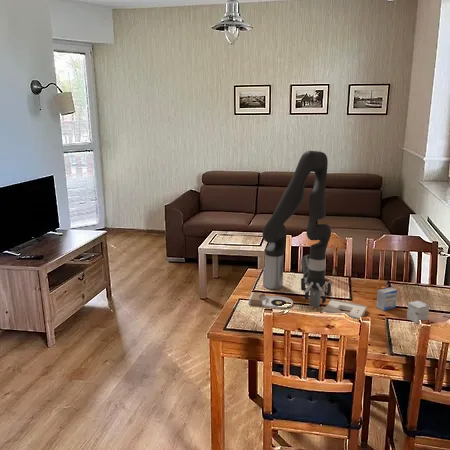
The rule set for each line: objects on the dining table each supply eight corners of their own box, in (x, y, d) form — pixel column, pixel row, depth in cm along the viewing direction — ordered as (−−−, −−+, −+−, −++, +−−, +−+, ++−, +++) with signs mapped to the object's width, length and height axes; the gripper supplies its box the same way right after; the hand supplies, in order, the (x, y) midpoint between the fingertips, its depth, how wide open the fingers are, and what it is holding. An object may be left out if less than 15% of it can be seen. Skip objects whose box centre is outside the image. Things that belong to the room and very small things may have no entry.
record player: (252, 290, 218) (294, 294, 213) (252, 296, 218) (293, 300, 214) (248, 300, 206) (292, 304, 202) (248, 306, 207) (291, 311, 203)
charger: (309, 306, 207) (309, 290, 205) (312, 303, 210) (312, 287, 208) (317, 308, 205) (318, 291, 203) (320, 304, 208) (321, 288, 206)
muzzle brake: (317, 271, 251) (318, 254, 248) (322, 291, 224) (324, 271, 221) (300, 271, 252) (300, 253, 249) (303, 290, 225) (304, 271, 222)
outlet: (321, 314, 198) (322, 310, 197) (331, 303, 210) (331, 298, 209) (358, 323, 190) (359, 318, 190) (366, 310, 202) (366, 306, 202)
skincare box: (406, 318, 195) (408, 302, 193) (416, 315, 198) (418, 300, 196) (417, 323, 190) (419, 307, 188) (427, 321, 192) (429, 305, 190)
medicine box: (383, 311, 202) (385, 293, 200) (375, 307, 206) (377, 289, 203) (396, 307, 205) (397, 290, 203) (388, 304, 209) (390, 286, 207)
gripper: (298, 267, 203) (297, 301, 207) (330, 272, 196) (328, 307, 200) (304, 262, 210) (303, 295, 214) (335, 267, 203) (332, 301, 207)
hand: (315, 301), depth 207 cm, fingers open, 7 cm apart
